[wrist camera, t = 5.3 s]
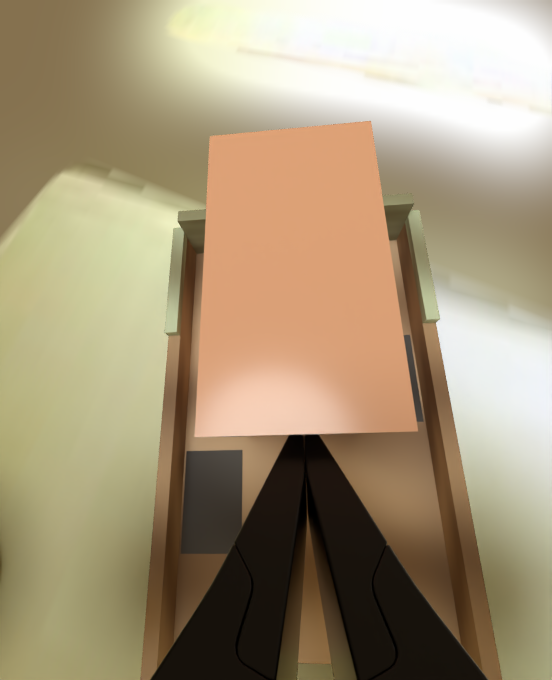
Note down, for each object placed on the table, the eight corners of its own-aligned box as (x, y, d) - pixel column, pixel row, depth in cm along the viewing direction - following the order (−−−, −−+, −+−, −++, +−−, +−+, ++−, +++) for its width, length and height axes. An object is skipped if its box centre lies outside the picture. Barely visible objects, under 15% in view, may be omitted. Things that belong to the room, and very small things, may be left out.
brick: (360, 434, 15) (418, 431, 8) (247, 436, 16) (194, 437, 8) (342, 253, 18) (370, 121, 11) (248, 259, 19) (209, 136, 11)
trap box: (474, 659, 13) (534, 737, 9) (163, 651, 14) (118, 721, 10) (402, 235, 19) (424, 192, 15) (190, 250, 20) (167, 212, 16)
